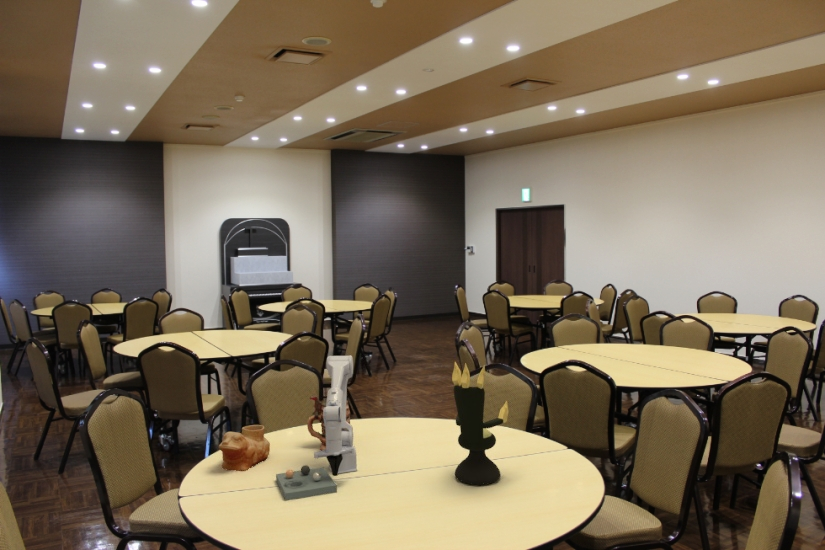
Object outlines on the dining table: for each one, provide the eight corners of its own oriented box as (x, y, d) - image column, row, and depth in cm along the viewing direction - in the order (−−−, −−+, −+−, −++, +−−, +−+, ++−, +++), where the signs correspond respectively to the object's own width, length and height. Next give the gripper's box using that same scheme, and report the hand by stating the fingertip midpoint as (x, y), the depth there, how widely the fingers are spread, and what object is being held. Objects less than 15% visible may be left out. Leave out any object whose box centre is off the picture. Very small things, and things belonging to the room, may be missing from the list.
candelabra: (510, 473, 245) (508, 354, 242) (492, 494, 225) (490, 365, 222) (463, 466, 253) (461, 351, 250) (441, 487, 233) (438, 362, 230)
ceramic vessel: (209, 472, 253) (207, 434, 252) (250, 451, 277) (248, 416, 276) (238, 476, 248) (237, 438, 247) (277, 454, 272) (276, 419, 271)
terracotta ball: (293, 475, 240) (292, 467, 240) (294, 478, 237) (294, 470, 237) (284, 477, 239) (284, 469, 239) (286, 480, 236) (286, 471, 236)
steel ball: (320, 478, 237) (320, 470, 237) (322, 481, 234) (322, 472, 234) (311, 480, 236) (311, 471, 235) (313, 483, 233) (313, 474, 232)
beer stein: (359, 451, 281) (328, 440, 292) (367, 387, 281) (336, 378, 291) (333, 458, 268) (302, 446, 278) (341, 390, 267) (310, 381, 278)
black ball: (309, 472, 243) (308, 463, 243) (311, 475, 240) (310, 466, 240) (300, 473, 242) (299, 464, 242) (301, 476, 239) (301, 467, 239)
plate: (323, 473, 249) (323, 467, 249) (336, 492, 230) (336, 485, 230) (276, 480, 242) (276, 474, 242) (285, 500, 224) (285, 493, 224)
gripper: (316, 444, 230) (317, 481, 231) (356, 438, 235) (357, 475, 236) (312, 438, 236) (313, 475, 237) (350, 433, 242) (351, 469, 242)
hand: (334, 475), depth 237 cm, fingers closed
